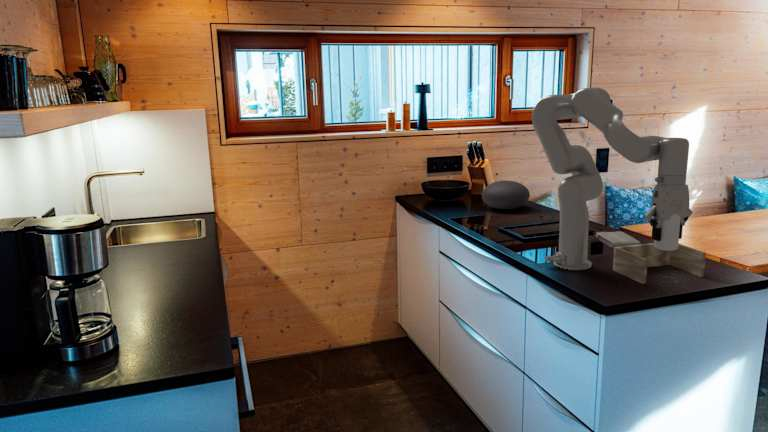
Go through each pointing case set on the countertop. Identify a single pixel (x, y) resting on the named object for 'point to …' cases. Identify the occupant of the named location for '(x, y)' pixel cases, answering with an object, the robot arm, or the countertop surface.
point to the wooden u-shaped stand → (656, 260)
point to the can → (669, 234)
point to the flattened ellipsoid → (505, 195)
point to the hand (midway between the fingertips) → (666, 238)
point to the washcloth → (616, 239)
